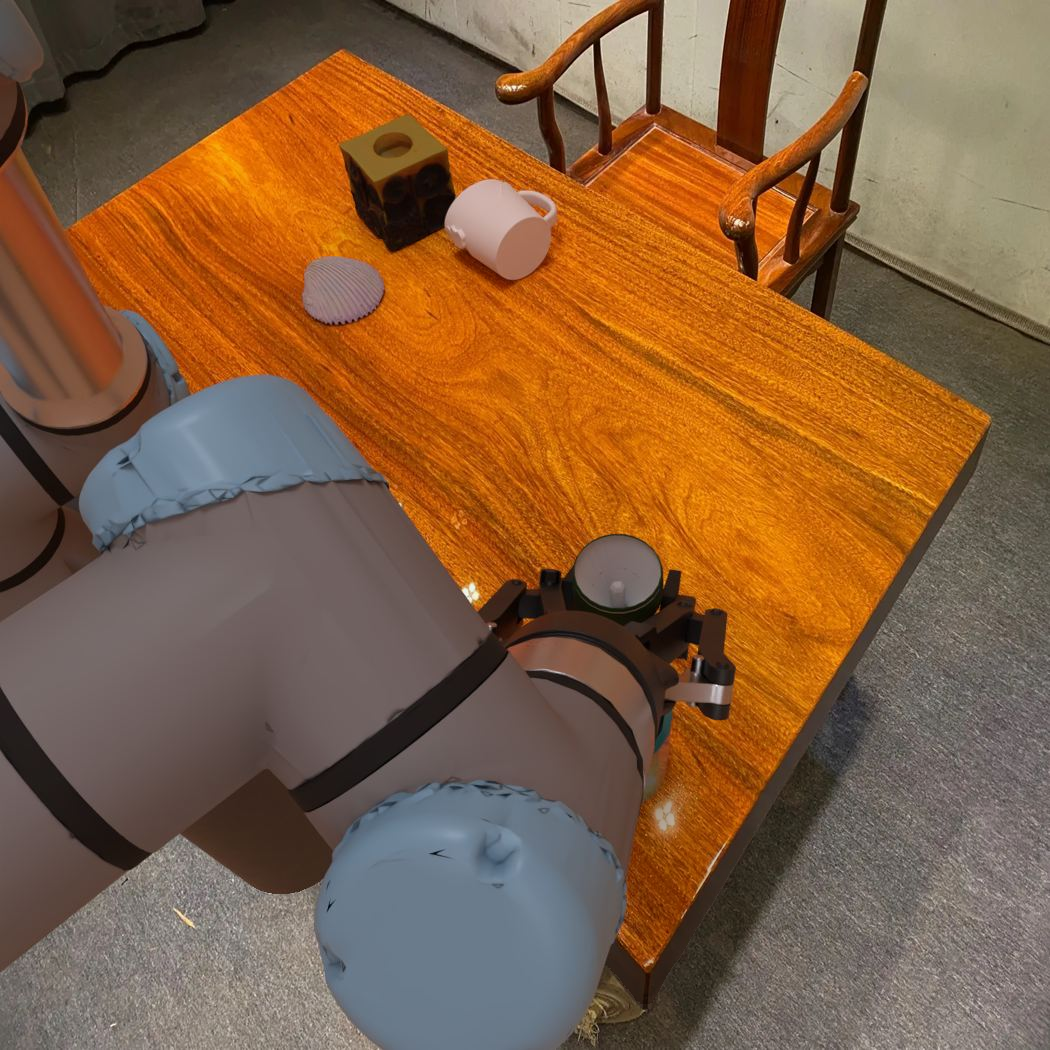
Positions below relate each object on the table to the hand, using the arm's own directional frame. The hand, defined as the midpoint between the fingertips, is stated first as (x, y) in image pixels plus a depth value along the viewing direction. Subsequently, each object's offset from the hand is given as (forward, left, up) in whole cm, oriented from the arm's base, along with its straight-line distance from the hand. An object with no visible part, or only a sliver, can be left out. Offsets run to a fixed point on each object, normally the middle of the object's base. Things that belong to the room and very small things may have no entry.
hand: (627, 584), depth 59 cm
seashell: (+3, +62, -23) cm, 66 cm away
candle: (+16, +70, -23) cm, 76 cm away
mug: (+23, +56, -23) cm, 65 cm away
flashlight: (-3, -3, -12) cm, 13 cm away
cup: (-3, -3, -22) cm, 23 cm away
